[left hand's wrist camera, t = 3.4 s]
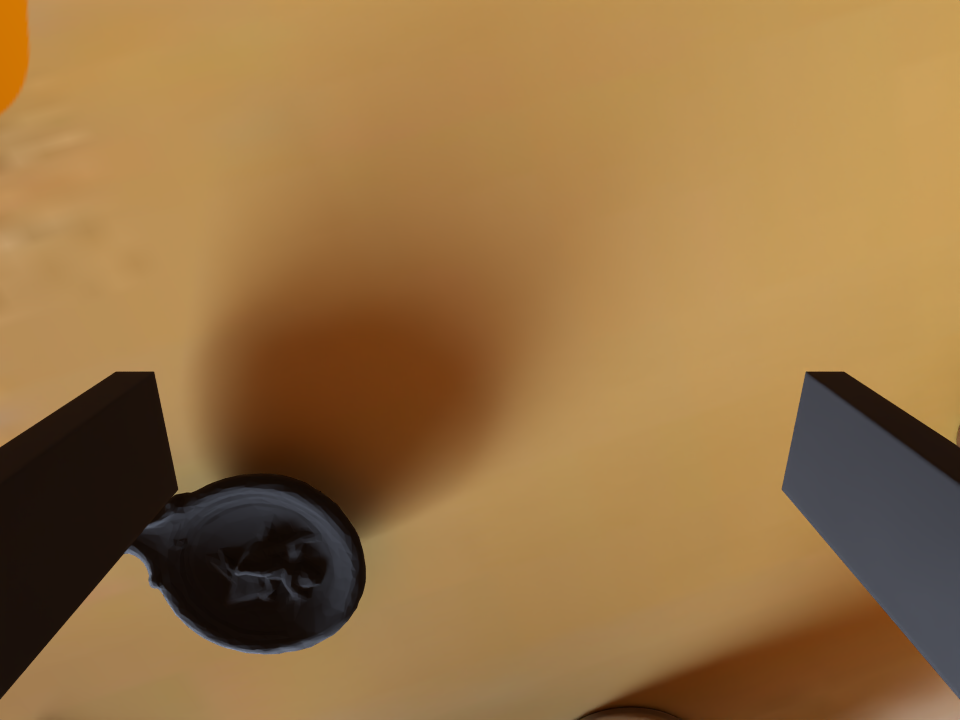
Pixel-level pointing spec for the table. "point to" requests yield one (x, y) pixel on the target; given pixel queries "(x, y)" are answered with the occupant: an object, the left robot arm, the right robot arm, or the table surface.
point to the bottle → (958, 437)
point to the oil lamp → (255, 563)
